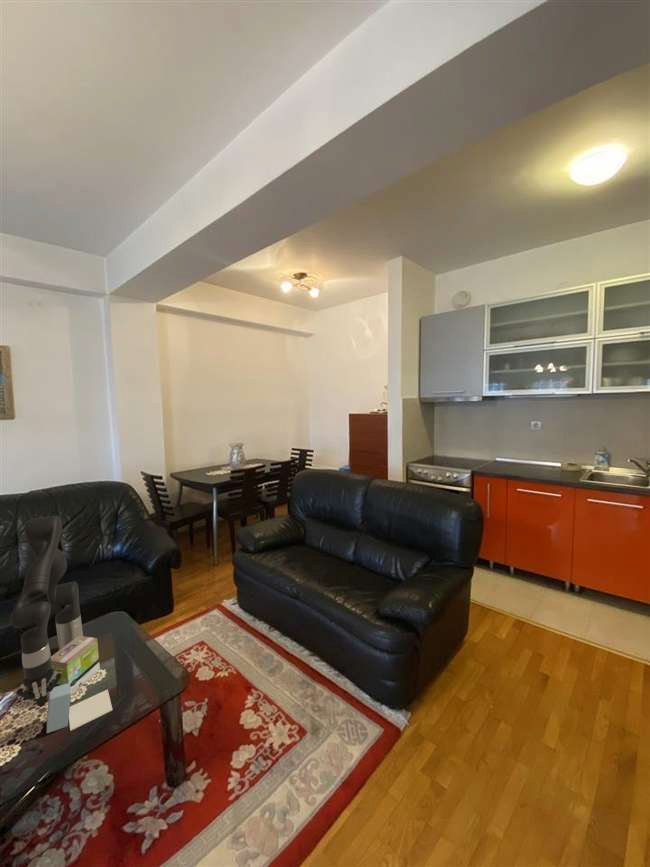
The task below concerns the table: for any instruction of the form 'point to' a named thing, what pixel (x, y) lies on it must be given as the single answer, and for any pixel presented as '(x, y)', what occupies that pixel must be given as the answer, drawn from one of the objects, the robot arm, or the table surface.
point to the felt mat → (89, 709)
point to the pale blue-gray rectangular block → (58, 707)
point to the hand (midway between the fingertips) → (42, 704)
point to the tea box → (76, 662)
